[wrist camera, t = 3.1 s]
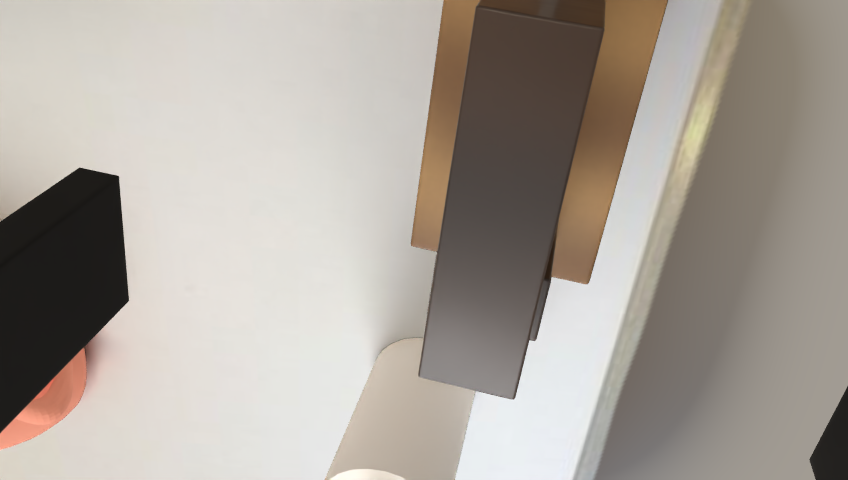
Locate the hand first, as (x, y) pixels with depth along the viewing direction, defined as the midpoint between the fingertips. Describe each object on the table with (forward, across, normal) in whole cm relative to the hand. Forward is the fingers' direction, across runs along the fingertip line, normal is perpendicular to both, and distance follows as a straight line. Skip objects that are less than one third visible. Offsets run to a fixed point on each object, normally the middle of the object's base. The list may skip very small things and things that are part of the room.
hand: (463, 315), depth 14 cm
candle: (+25, -3, -23) cm, 34 cm away
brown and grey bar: (+11, 0, +7) cm, 13 cm away
